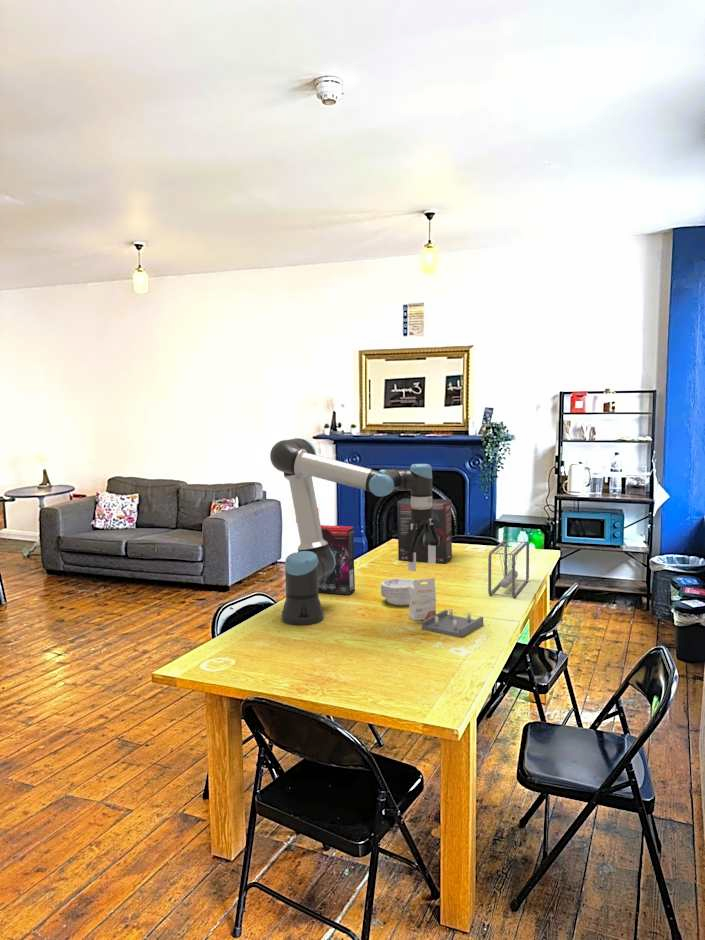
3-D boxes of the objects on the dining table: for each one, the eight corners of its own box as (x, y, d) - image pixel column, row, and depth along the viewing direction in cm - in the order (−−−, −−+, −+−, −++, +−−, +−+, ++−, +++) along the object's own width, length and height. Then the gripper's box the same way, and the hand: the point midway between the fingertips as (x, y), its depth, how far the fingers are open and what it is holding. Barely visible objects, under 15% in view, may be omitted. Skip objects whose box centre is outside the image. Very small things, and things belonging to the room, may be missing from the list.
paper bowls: (392, 595, 279) (392, 575, 278) (426, 600, 271) (426, 580, 270) (374, 604, 266) (373, 584, 265) (409, 610, 258) (409, 589, 257)
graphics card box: (310, 592, 284) (309, 527, 282) (317, 588, 291) (315, 524, 288) (350, 595, 279) (348, 529, 276) (355, 591, 285) (354, 526, 283)
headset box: (396, 560, 340) (396, 493, 336) (404, 555, 351) (404, 490, 348) (446, 564, 330) (445, 495, 327) (452, 558, 342) (452, 492, 339)
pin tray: (461, 637, 227) (461, 625, 227) (422, 629, 236) (421, 617, 236) (483, 624, 240) (483, 612, 240) (445, 617, 249) (445, 605, 249)
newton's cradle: (514, 599, 271) (514, 554, 269) (487, 596, 275) (488, 552, 273) (529, 581, 298) (529, 540, 296) (504, 578, 302) (504, 538, 300)
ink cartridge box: (430, 614, 252) (430, 575, 251) (436, 618, 248) (436, 578, 246) (408, 616, 250) (408, 576, 249) (413, 621, 245) (413, 580, 244)
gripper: (412, 513, 233) (412, 575, 235) (448, 504, 253) (448, 561, 255) (393, 511, 237) (394, 572, 239) (430, 502, 257) (430, 558, 259)
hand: (422, 566), depth 247 cm, fingers open, 13 cm apart
